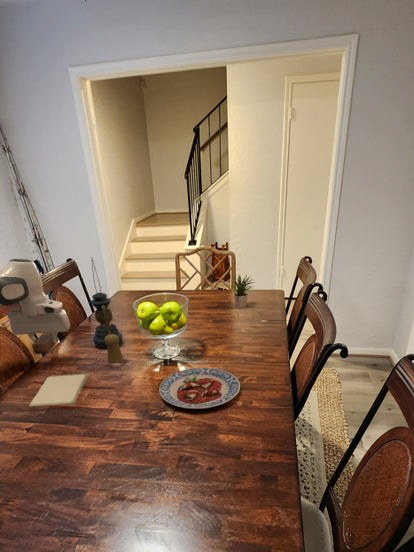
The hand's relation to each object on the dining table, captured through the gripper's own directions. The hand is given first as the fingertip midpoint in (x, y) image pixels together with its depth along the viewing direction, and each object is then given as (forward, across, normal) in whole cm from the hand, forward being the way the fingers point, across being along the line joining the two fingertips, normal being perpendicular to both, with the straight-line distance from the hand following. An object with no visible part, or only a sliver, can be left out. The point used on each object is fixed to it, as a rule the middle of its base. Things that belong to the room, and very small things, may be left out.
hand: (46, 343), depth 137 cm
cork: (+9, +25, -2) cm, 26 cm away
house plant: (+9, +79, +57) cm, 98 cm away
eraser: (+1, 0, 0) cm, 1 cm away
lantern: (+9, +19, +17) cm, 27 cm away
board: (+9, +10, -22) cm, 25 cm away
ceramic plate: (+9, +56, -27) cm, 63 cm away
